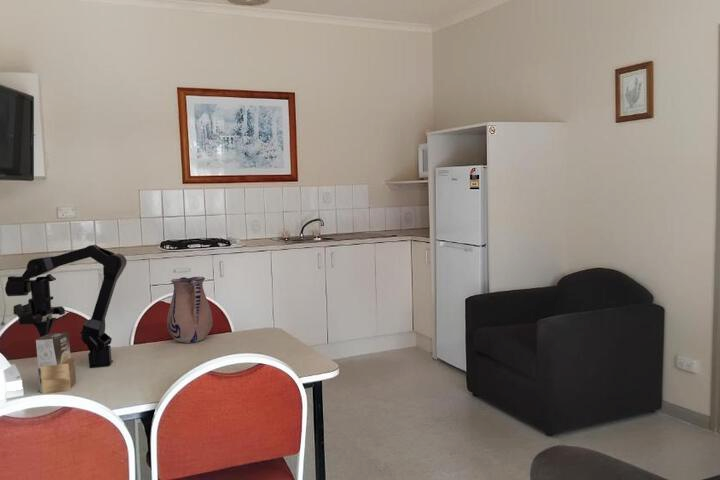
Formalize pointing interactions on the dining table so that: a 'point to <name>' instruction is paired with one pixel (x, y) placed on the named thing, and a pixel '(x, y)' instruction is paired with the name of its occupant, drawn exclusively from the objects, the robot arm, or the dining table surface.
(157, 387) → the dining table surface
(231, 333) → the dining table surface
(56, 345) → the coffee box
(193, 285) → the ceramic pitcher
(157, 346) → the dining table surface
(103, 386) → the dining table surface
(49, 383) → the tan wooden block
